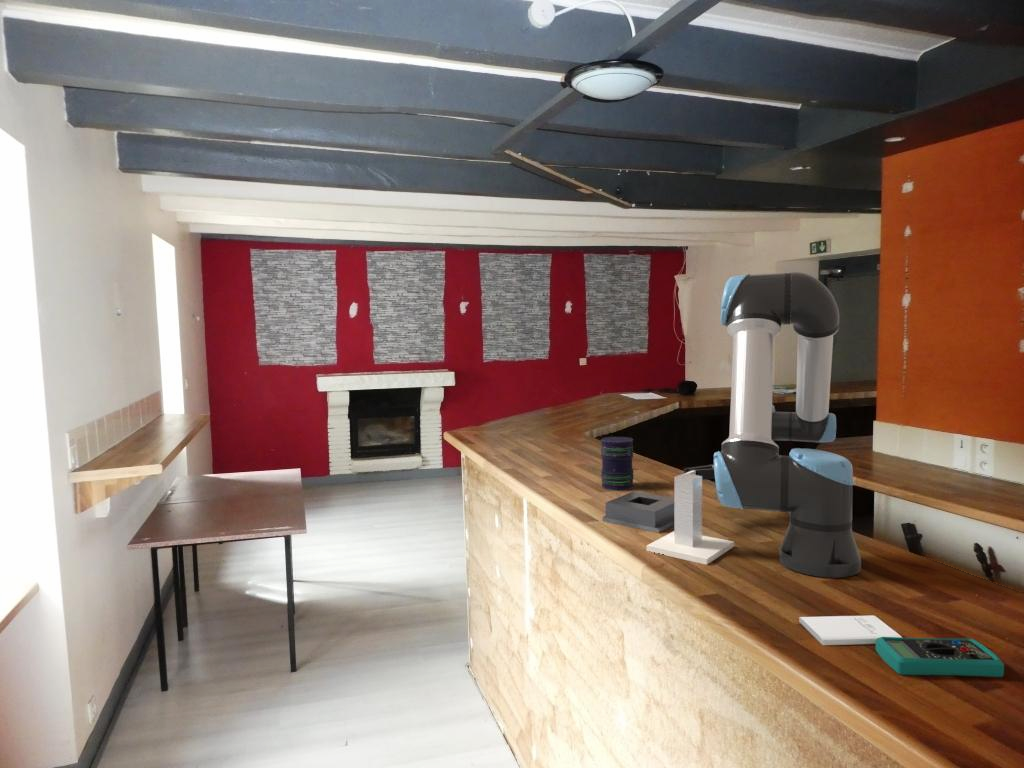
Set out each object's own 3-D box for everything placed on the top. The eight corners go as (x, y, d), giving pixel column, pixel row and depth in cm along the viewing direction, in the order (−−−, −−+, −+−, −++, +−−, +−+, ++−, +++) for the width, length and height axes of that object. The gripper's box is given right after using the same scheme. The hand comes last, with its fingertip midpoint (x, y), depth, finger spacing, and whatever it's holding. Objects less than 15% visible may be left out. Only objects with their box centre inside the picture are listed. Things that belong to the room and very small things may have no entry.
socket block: (695, 513, 172) (695, 495, 172) (658, 532, 157) (658, 512, 157) (641, 504, 183) (641, 486, 182) (602, 521, 168) (602, 501, 167)
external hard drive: (799, 625, 109) (873, 623, 109) (822, 649, 101) (902, 646, 101) (799, 615, 109) (873, 613, 109) (823, 638, 101) (903, 636, 101)
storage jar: (599, 490, 200) (599, 441, 198) (602, 482, 209) (602, 436, 208) (632, 491, 197) (632, 442, 196) (634, 483, 207) (634, 436, 205)
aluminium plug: (701, 542, 146) (702, 476, 145) (692, 547, 143) (692, 479, 142) (683, 538, 149) (683, 473, 148) (674, 543, 146) (674, 477, 145)
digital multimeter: (1009, 680, 91) (1010, 660, 91) (897, 678, 92) (898, 658, 92) (975, 654, 98) (976, 635, 98) (872, 652, 99) (873, 633, 99)
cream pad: (733, 546, 146) (733, 541, 146) (706, 564, 136) (706, 559, 136) (676, 534, 155) (676, 529, 155) (646, 550, 145) (646, 545, 145)
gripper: (794, 490, 160) (763, 509, 144) (698, 476, 176) (660, 492, 160) (795, 459, 159) (763, 476, 143) (698, 449, 176) (660, 462, 160)
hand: (709, 485), depth 152 cm, fingers open, 13 cm apart
